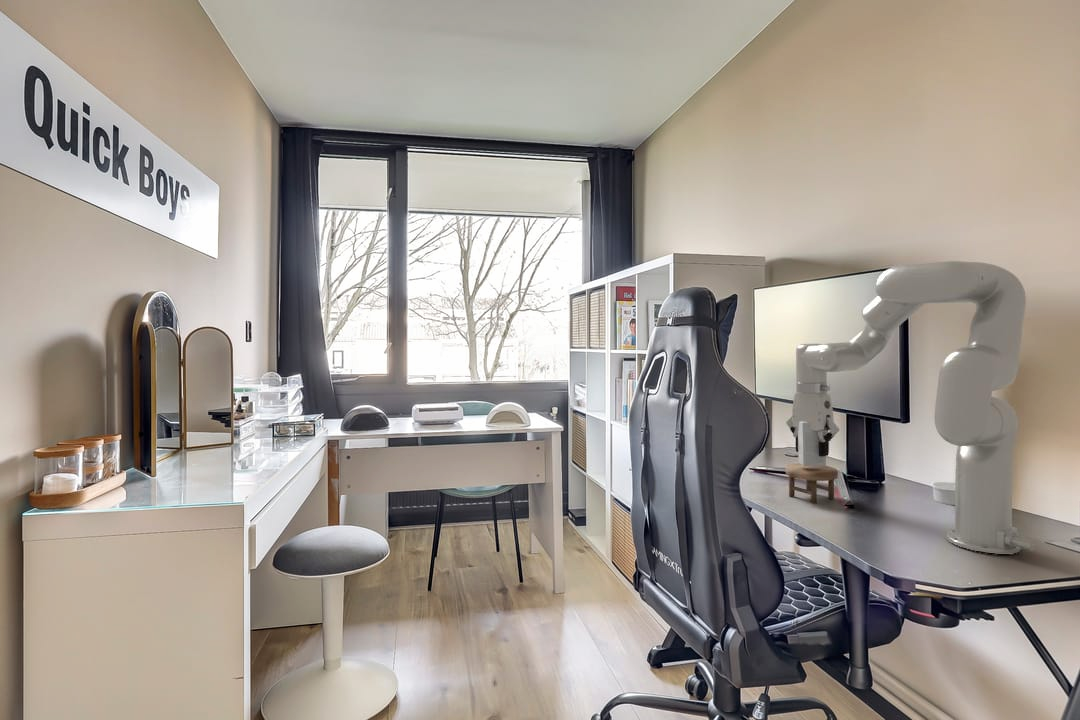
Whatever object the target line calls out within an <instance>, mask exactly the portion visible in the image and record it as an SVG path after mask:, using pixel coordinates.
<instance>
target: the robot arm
mask: <svg viewBox="0 0 1080 720" xmlns="http://www.w3.org/2000/svg"><path fill="white" fill-rule="evenodd" d="M875 293H876V296H875V297H874V298H873V299H872V300H871V301H869V303H868V304H867V305H865V306H864V308H863V309H862V312H861V315H862V318H863V320H864V322H865V326H864V328H862V330H861V331H860V332H859V333H857V335H855V336H854V337H853V338H852V339H851V340H850V341H848V342H847V341H845V342H831V343H824V344H822V343H800V344H798V345H797V347H796V349H795V350H796V351H795V355H796V356H795V358H796V359H795V361H796V362H795V365H796V367H795V368H796V370H795V371H796V373H795V374H796V377H795V378H796V387H795V388H796V391H795V392H794V396H793V403H792V412H791V417H790V418H789V419H787V421H786V426H788V428H789V431H790V432H791V433H792V434H793V435H792V436H793V438H795V452H796V453H798V428H799V422H808V423H809V426H810V430H812V431H817V433H818V435H819V438H820V440H821V442H819V456H820V457H823V456H826V457H828V456H829V455H830V454H829V453H830V441H832V439H833V438H834V437H836V434H837V433H838V432H840V428H839V427H838V426H837V425H836V423H835V422H834V421H835V420H834V419H835V418H834V409H833V408H834V407H833V402H832V398H831V395H830V394H828V393H827V392H829V391H830V390H831V386H830V385H828V379H827V377H828V376H827V375H828V374H827V373H836V372H846V371H848V372H849V371H856V370H859V369H861V368H863V367H865V366H866V365H867V364H869V363H870V362H871V361H872V360H873V359H874V358H876V357H877V356H878V355H879V354H880V353H881V352H882V351H883V350H884V349H885V347H887V345H888V343H889V341H890V339H891V337H892V334H893V332H895V331H896V329H897V328H899V327H900V326H901V325H902V324H903V323H904V322H905V321H907V320H908V319H909V318H911V316H913V314H914V313H916V312H917V311H918V310H919V309H921V308H922V307H923V306H924V305H925V304H932V303H934V304H936V303H937V304H938V303H939V304H940V303H945V304H946V303H949V304H950V303H954V304H955V303H971V304H974V305H976V306H975V307H976V308H975V312H974V314H973V316H972V318H971V321H970V325H969V336H968V341H967V346H964V347H960V348H957V349H955V350H953V351H951V352H950V353H949V354H948V355H947V356H946V357H945V358H944V360H943V362H942V363H941V365H940V368H939V371H938V380H937V388H936V397H935V398H936V399H935V405H934V417H933V418H934V426H935V430H936V431H937V433H938V434H939V436H940V437H941V438H942V439H943V440H944V441H945V442H947V443H949V444H951V445H953V446H957V449H956V455H955V456H956V457H955V482H954V483H955V505H954V507H955V508H954V529H950V530H948V531H946V533H945V538H946V540H947V541H948V542H949V543H950V542H951V544H952V543H953V544H952V545H954V544H955V545H954V546H956V545H958V546H957V547H959V546H960V547H959V548H961V547H964V548H967V549H966V550H968V549H971V550H970V551H972V550H978V551H985V552H994V553H1006V554H1007V553H1016V554H1018V553H1020V552H1021V551H1022V549H1023V550H1027V551H1031V552H1033V551H1034V549H1035V545H1036V544H1035V541H1034V539H1033V538H1030V537H1028V536H1022V535H1020V534H1019V533H1018V527H1016V526H1013V525H1012V522H1013V521H1012V518H1013V515H1012V514H1013V476H1014V475H1013V474H1014V472H1013V471H1014V470H1013V468H1014V467H1013V466H1014V451H1015V444H1016V440H1017V434H1018V427H1019V422H1018V421H1019V420H1018V416H1017V413H1016V411H1015V410H1014V408H1013V407H1012V406H1011V404H1009V402H1006V400H1003V399H1002V398H999V397H996V396H992V395H993V394H992V393H993V392H994V391H999V390H1003V389H1005V388H1008V387H1009V386H1010V385H1012V384H1013V383H1014V382H1015V380H1016V377H1017V375H1018V370H1019V361H1020V360H1019V359H1020V353H1021V346H1022V345H1021V344H1022V335H1023V333H1022V332H1023V327H1024V326H1023V325H1024V324H1023V323H1024V319H1025V312H1026V301H1027V300H1026V299H1027V298H1026V291H1025V288H1024V286H1023V283H1022V282H1021V281H1020V280H1019V278H1018V277H1017V276H1016V275H1015V274H1013V273H1012V272H1011V271H1009V270H1007V269H1005V268H1003V267H1001V266H1000V265H999V266H997V265H995V264H993V263H986V262H981V261H980V262H978V261H960V260H952V261H949V260H948V261H939V262H937V261H936V262H927V263H926V262H925V263H918V264H917V263H916V264H915V263H914V264H906V265H905V264H902V265H895V266H891V267H888V268H887V269H886V270H884V271H883V272H882V273H881V274H879V276H878V278H877V280H876V282H875ZM823 432H824V434H823ZM964 548H963V549H964ZM1020 550H1021V551H1020ZM1019 551H1020V552H1019ZM1017 552H1018V553H1017Z"/></svg>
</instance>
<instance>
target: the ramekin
mask: <svg viewBox="0 0 1080 720" xmlns="http://www.w3.org/2000/svg"><path fill="white" fill-rule="evenodd" d="M931 487H932V491H933V499H934V501H935V502H938V503H941V504H943V505H944V504H945V505H947V506H948V505H949V506H955V482H951V481H950V482H949V481H937V482H936V481H935V482H932V483H931Z"/></svg>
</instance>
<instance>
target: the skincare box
mask: <svg viewBox="0 0 1080 720" xmlns="http://www.w3.org/2000/svg"><path fill="white" fill-rule="evenodd" d="M823 434H824V432H823ZM819 442H821V440H820V438H819V435H818V433H817V431H812V430H810V426H809V423H808V422H799V428H798V452H797V455H798V459H797V460H798V464H801V465H803V466H827V456H823V457H820V456H819Z"/></svg>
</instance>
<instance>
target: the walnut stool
mask: <svg viewBox="0 0 1080 720" xmlns="http://www.w3.org/2000/svg"><path fill="white" fill-rule="evenodd" d="M785 475H787V476H788V496H789V498H794V497H795V495H796V494H795V491H797V492H799V493H804V494H806V495H810V503H811V504H813V505H814V504H818V503H817V501H818V500H817V498H818V495H817V494H818V493H817V492H818V490H817V489H820V490H823V491H826V492H827V495H828V496H827V498H828V500H831V501H832V500H833V501H834V500H835V480H836V479H838V477H839V471H838V469H837V468H835V467H832V466H829V465H828V466H827V465H826V466H803V465H801V464H799V463H792V464H791V463H790V464H787V465H786V466H785ZM795 479H797V480H804V481H805V488H802V487H798V486H795ZM820 481H821V482H824V481H825V482H826V481H828V482H827V483H828V484H827V486H825V485H821V484H818V483H817V482H820Z"/></svg>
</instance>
